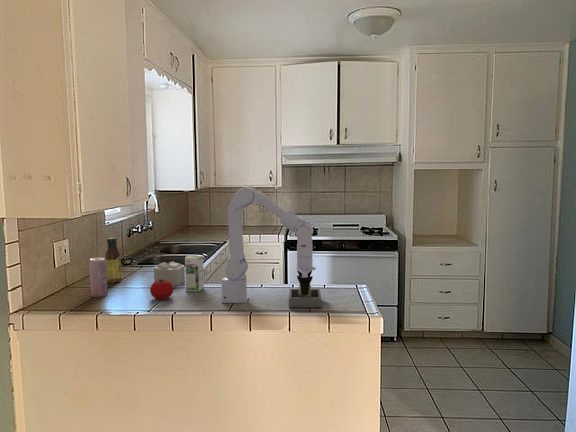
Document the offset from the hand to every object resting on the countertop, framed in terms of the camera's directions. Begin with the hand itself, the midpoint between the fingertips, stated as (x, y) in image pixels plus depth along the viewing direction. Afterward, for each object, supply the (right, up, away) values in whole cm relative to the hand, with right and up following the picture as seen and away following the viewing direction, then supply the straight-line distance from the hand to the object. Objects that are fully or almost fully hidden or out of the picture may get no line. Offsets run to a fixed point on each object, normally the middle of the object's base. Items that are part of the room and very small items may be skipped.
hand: (304, 291), depth 162 cm
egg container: (-60, -2, +32) cm, 68 cm away
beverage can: (-83, -4, +13) cm, 84 cm away
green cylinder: (0, -4, 0) cm, 4 cm away
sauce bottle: (-85, -2, +34) cm, 92 cm away
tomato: (-56, -4, +8) cm, 57 cm away
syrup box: (-45, -3, +20) cm, 50 cm away
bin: (0, -5, +1) cm, 5 cm away
